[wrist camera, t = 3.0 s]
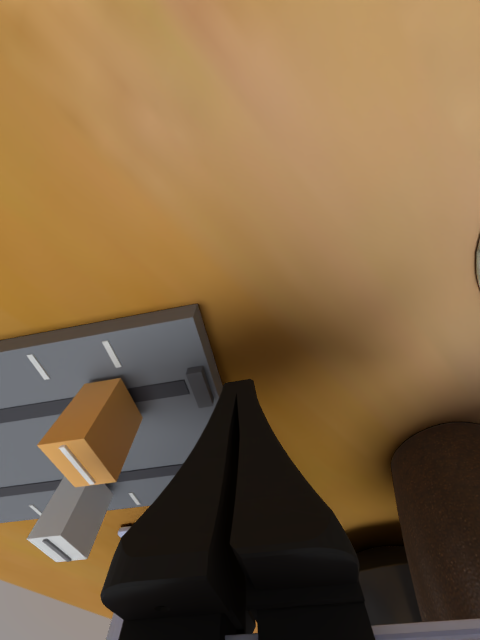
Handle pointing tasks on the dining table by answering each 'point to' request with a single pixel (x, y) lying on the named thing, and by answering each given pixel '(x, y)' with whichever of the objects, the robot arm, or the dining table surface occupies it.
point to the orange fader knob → (93, 434)
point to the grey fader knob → (71, 521)
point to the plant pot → (441, 518)
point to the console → (99, 365)
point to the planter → (388, 586)
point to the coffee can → (478, 263)
